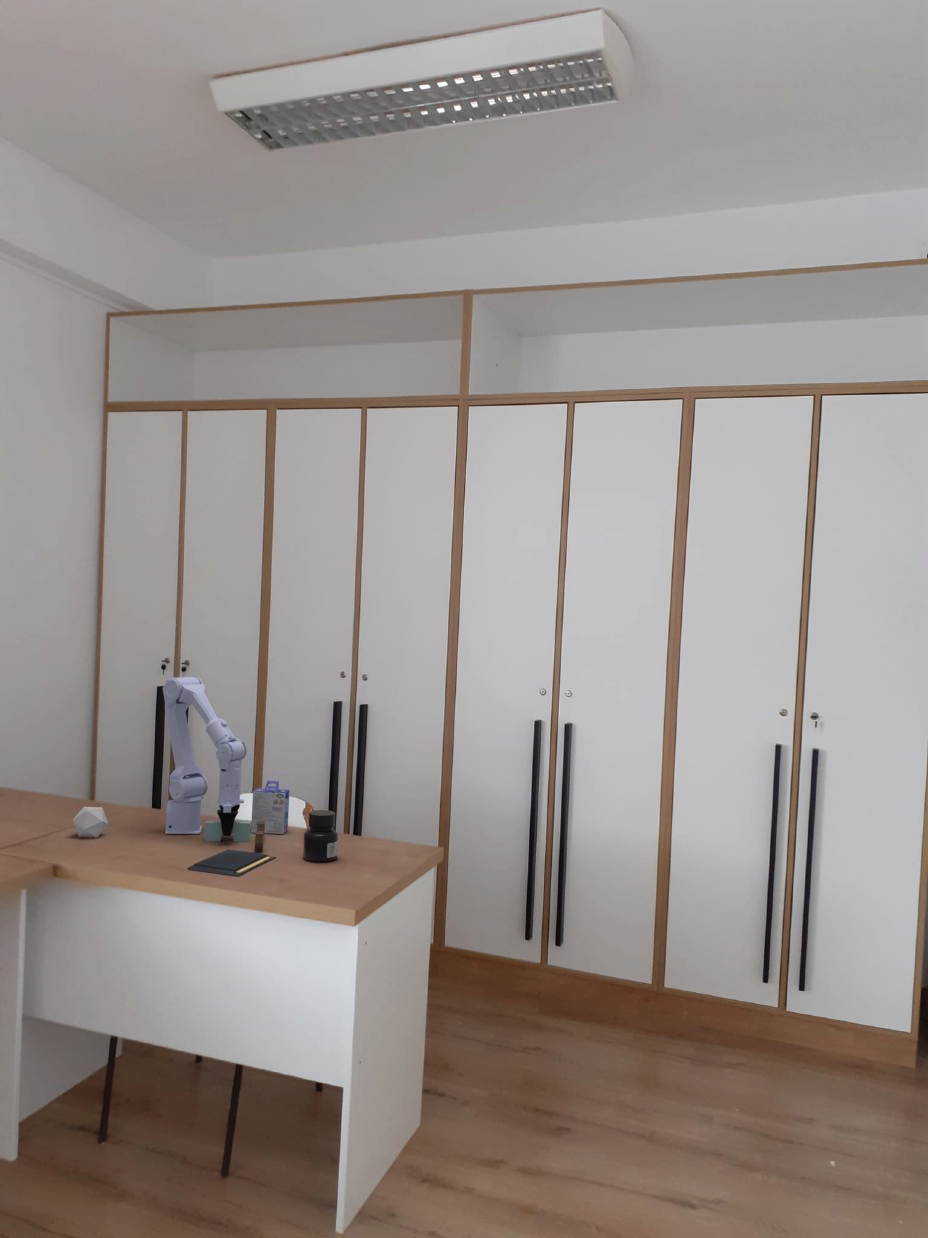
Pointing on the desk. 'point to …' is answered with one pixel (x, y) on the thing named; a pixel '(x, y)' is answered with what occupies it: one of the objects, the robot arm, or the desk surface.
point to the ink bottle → (321, 837)
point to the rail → (259, 837)
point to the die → (90, 822)
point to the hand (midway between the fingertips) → (227, 833)
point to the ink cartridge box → (270, 809)
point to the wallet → (231, 863)
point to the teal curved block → (239, 830)
